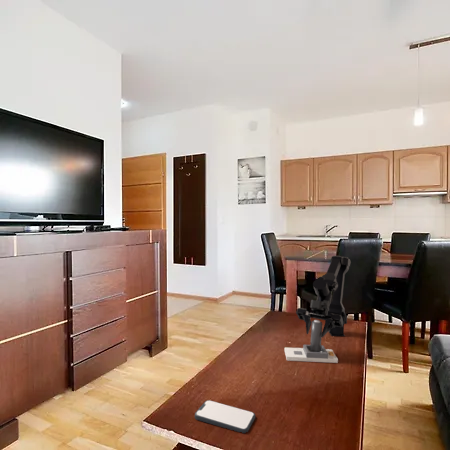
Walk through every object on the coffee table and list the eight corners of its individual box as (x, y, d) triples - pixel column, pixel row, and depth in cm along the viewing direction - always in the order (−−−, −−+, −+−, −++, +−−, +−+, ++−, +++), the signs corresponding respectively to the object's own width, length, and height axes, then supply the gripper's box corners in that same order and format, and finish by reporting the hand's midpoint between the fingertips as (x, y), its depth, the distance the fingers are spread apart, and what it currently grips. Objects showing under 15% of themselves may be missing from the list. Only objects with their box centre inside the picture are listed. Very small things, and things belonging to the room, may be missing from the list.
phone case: (256, 418, 92) (206, 403, 98) (256, 412, 92) (206, 398, 98) (246, 437, 84) (192, 420, 90) (246, 431, 84) (192, 414, 90)
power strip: (331, 352, 137) (331, 344, 137) (337, 362, 127) (337, 354, 127) (284, 350, 139) (284, 342, 138) (286, 360, 129) (287, 351, 129)
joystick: (312, 350, 135) (313, 318, 135) (321, 353, 133) (323, 320, 133) (308, 353, 132) (310, 320, 131) (318, 356, 129) (320, 323, 129)
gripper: (297, 289, 140) (287, 320, 131) (341, 295, 130) (334, 330, 121) (304, 303, 147) (294, 334, 138) (346, 310, 137) (339, 344, 128)
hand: (314, 335), depth 131 cm, fingers open, 6 cm apart
